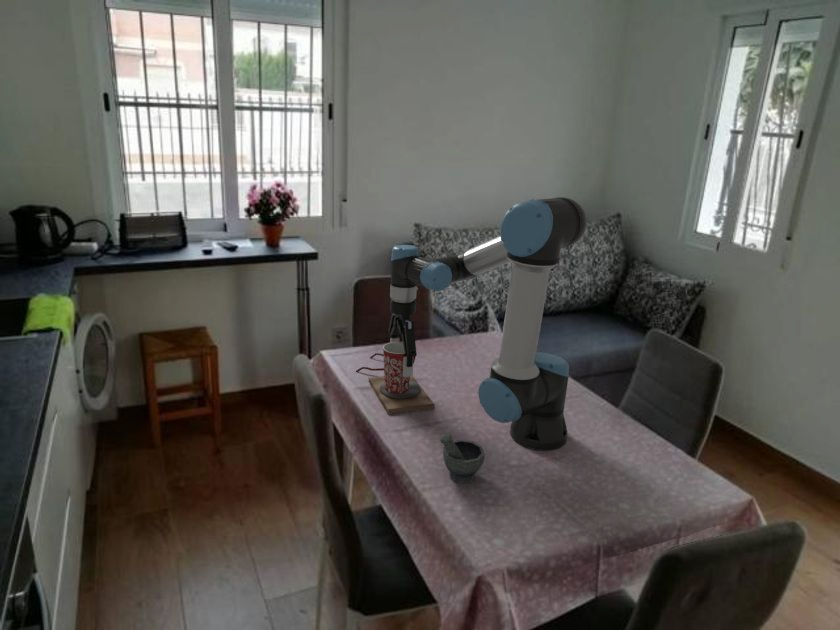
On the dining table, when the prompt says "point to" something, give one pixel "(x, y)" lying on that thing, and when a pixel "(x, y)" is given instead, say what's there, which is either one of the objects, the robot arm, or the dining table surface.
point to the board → (401, 397)
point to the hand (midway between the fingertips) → (400, 366)
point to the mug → (395, 368)
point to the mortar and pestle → (462, 458)
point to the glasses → (371, 368)
